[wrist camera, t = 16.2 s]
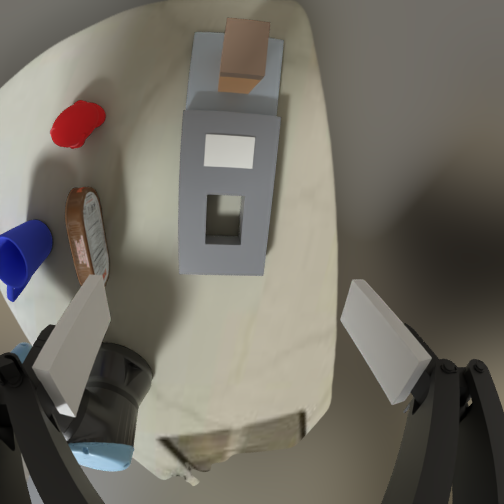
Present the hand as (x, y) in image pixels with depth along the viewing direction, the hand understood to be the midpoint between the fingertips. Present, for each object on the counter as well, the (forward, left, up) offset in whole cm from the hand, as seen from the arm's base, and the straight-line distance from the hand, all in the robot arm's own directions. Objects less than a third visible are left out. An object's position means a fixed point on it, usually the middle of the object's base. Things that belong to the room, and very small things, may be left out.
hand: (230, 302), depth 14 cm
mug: (-31, -9, -27) cm, 42 cm away
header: (+1, 0, -27) cm, 27 cm away
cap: (-20, +10, -27) cm, 35 cm away
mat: (+1, +17, -27) cm, 32 cm away
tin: (-18, -6, -27) cm, 33 cm away
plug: (+1, +17, -26) cm, 31 cm away
